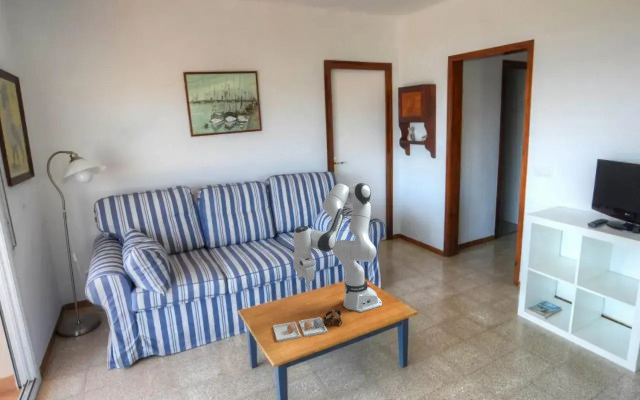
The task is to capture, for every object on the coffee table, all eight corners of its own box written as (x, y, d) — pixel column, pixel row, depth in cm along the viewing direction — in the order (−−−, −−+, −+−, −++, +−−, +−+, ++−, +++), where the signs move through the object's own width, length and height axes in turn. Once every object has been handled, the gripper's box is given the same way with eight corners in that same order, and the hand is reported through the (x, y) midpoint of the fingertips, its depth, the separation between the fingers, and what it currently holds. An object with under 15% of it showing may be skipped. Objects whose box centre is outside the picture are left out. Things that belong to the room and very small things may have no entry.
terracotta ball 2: (310, 325, 205) (310, 319, 204) (312, 329, 201) (312, 322, 200) (303, 327, 204) (303, 320, 203) (305, 331, 200) (304, 324, 199)
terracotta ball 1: (294, 328, 203) (293, 321, 202) (295, 332, 199) (295, 325, 198) (286, 330, 202) (286, 323, 201) (288, 334, 198) (287, 327, 197)
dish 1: (295, 324, 208) (295, 321, 207) (300, 338, 195) (300, 335, 194) (273, 328, 205) (272, 325, 205) (277, 343, 192) (276, 339, 191)
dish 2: (320, 320, 211) (320, 317, 211) (327, 333, 198) (327, 330, 198) (298, 323, 208) (298, 320, 208) (304, 337, 195) (304, 334, 195)
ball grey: (320, 324, 206) (319, 317, 205) (322, 328, 202) (321, 321, 201) (312, 325, 205) (312, 318, 204) (314, 329, 201) (314, 322, 200)
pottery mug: (339, 331, 201) (331, 319, 199) (326, 333, 206) (318, 322, 205) (348, 315, 210) (340, 303, 208) (335, 318, 216) (327, 306, 214)
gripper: (289, 253, 206) (290, 277, 209) (304, 265, 188) (305, 291, 191) (300, 251, 209) (301, 275, 211) (316, 262, 191) (317, 289, 193)
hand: (303, 283), depth 201 cm, fingers open, 8 cm apart
